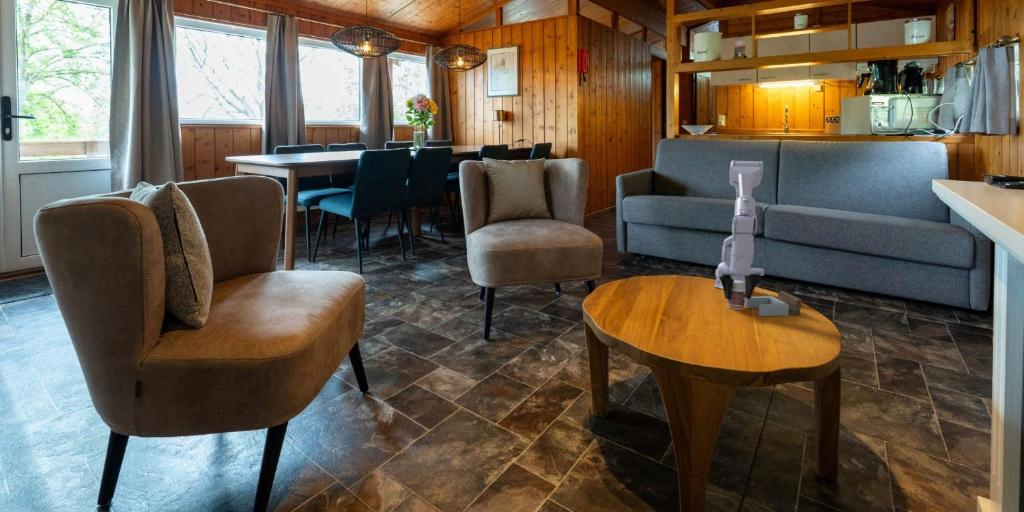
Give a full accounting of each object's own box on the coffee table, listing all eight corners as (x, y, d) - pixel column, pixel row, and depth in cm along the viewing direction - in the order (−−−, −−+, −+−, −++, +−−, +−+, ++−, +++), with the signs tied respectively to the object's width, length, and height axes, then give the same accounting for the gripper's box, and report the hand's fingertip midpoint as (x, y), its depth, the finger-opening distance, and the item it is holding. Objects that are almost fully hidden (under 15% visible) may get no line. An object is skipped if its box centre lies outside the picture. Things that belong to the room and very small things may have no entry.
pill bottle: (745, 310, 162) (748, 284, 161) (728, 309, 163) (731, 283, 161) (742, 306, 167) (744, 280, 165) (726, 305, 168) (728, 279, 166)
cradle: (760, 316, 157) (761, 305, 156) (744, 306, 166) (745, 296, 165) (787, 315, 158) (789, 305, 157) (770, 306, 167) (771, 296, 166)
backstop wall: (794, 316, 158) (796, 299, 157) (776, 306, 166) (778, 291, 165) (799, 315, 158) (801, 299, 157) (781, 306, 167) (783, 291, 166)
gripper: (724, 258, 157) (720, 303, 160) (771, 257, 158) (766, 301, 161) (713, 253, 164) (710, 296, 167) (758, 252, 165) (754, 294, 168)
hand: (737, 298), depth 164 cm, fingers open, 6 cm apart
